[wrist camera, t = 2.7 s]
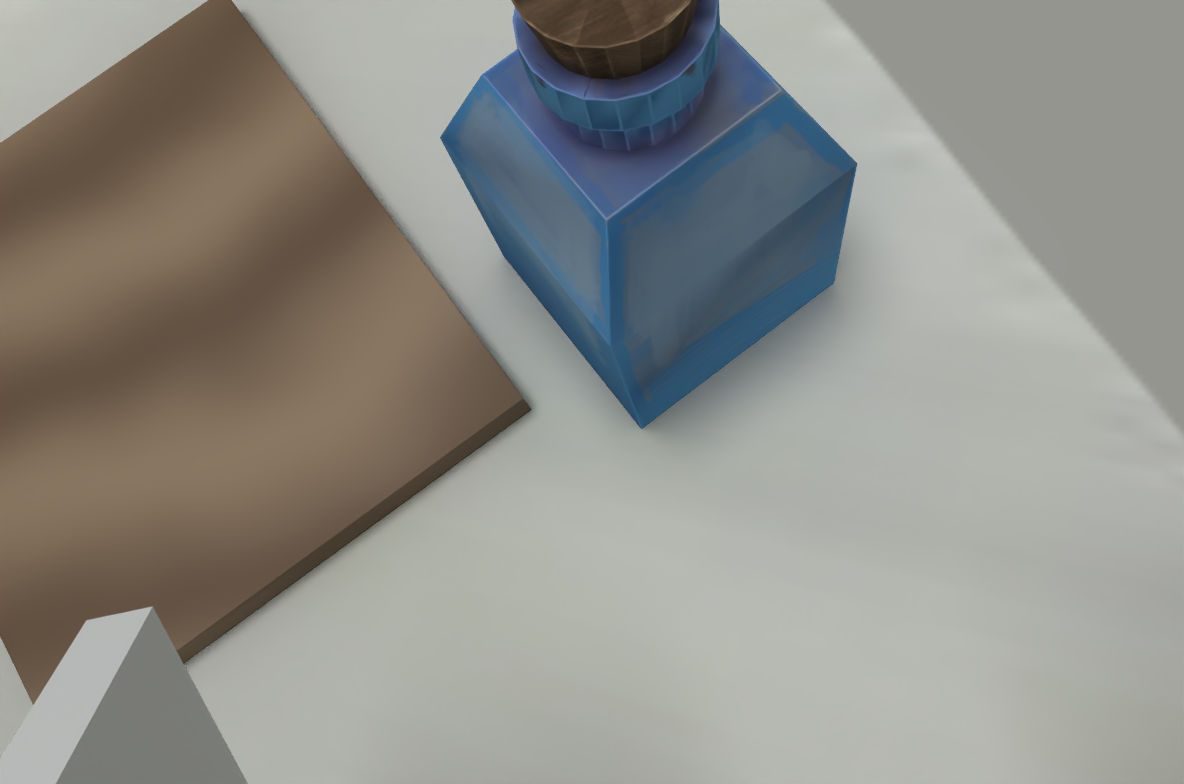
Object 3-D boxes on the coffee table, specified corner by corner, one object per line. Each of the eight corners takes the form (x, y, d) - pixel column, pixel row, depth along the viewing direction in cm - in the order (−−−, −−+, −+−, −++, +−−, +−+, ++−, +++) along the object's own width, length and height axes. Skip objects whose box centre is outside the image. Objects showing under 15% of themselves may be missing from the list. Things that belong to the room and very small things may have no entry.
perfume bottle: (684, 122, 29) (642, -262, 17) (833, 283, 27) (895, -31, 16) (503, 256, 28) (340, -48, 17) (641, 429, 26) (560, 216, 15)
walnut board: (-150, 278, 31) (-178, 265, 30) (239, 11, 32) (223, -11, 31) (76, 741, 26) (51, 742, 25) (531, 409, 27) (523, 398, 26)
